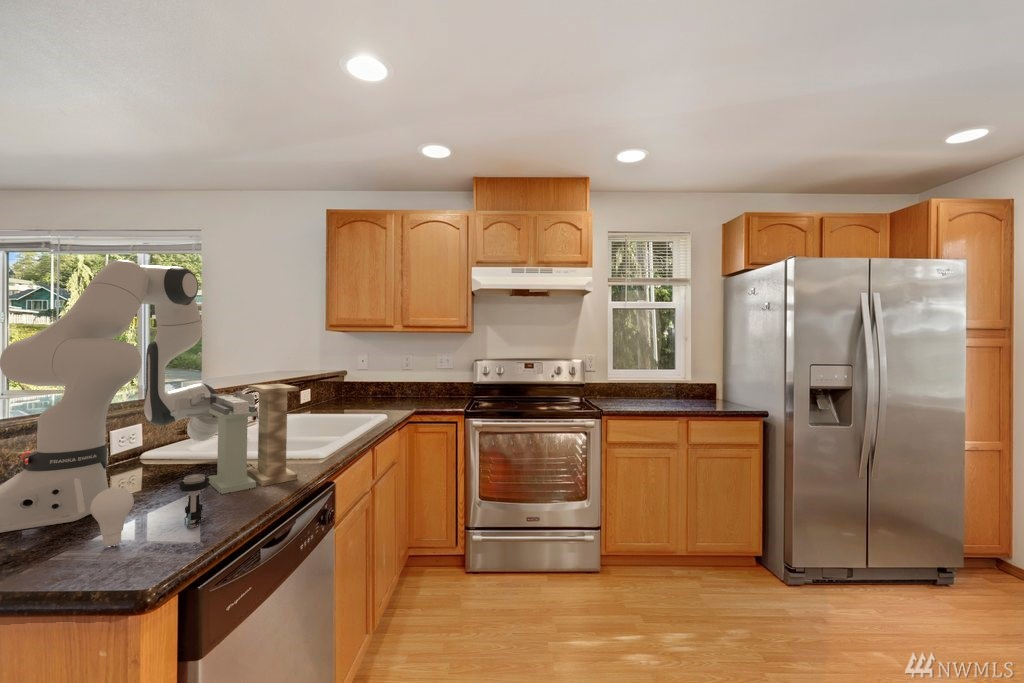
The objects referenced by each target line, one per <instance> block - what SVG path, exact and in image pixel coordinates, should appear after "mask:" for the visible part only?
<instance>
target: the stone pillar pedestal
mask: <svg viewBox="0 0 1024 683" xmlns="http://www.w3.org/2000/svg"><path fill="white" fill-rule="evenodd" d="M299 388H300V387H299V386H294V385H289V384H284V383H271V384H268V383H267V384H249V385H248V388H247V389H249V390H252V391H256V392H258V429H257V430H258V435H257V436H258V438H257V440H258V441H257V444H258V445H257V467H256V468H250V469H247V475H248V476H249V477H250V478H252V479H253V480H255V481H256V484H258V485H260V486H261V487H265V486H269V485H275V484H280V483H285V482H290V481H296V480H298V473H296V472H294V471H293V470H291V469H289V468H287V438H288V437H287V434H288V432H287V431H288V430H287V429H288V426H287V425H288V392H299V391H300V390H299Z"/></svg>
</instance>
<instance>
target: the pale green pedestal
mask: <svg viewBox="0 0 1024 683" xmlns="http://www.w3.org/2000/svg"><path fill="white" fill-rule="evenodd" d="M209 413H211V414H213V415H215V416H217V417H218V432H217V464H216V465H217V471H216V472H217V473H216V474H215V475H214V474H213V475H209V476H207V478H209V479H210V481H209V482H208V484H210V485H211V486H212V487H213V488H214V489H215V490H216V491H217V492H218V491H219V492H218V493H219V494H220V493H221V494H220V495H224V494H228V493H229V492H230V493H233V492H239V491H244V490H249V488H250V489H254V487H255V488H257V482H256V481H254V480H253V479H252V478H250V477H249V476H248V475H247V470H248V469H247V467H248V466H247V465H248V418H249V417H258V411H256V406H255V405H254V406H252V405H249V413H248V414H236V415H233V414H231V413H229V408H227V407H224V406H222V405H219V404H217V403H212V408H211V409H209Z"/></svg>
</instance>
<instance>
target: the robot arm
mask: <svg viewBox="0 0 1024 683" xmlns="http://www.w3.org/2000/svg"><path fill="white" fill-rule="evenodd" d="M198 292H199V281H198V279H197V277H196V275H195V274H194V273H193V272H192V271H191V269H189V268H186V267H182V266H175V265H174V266H165V265H153V264H141V265H140V264H138V263H136V262H134V261H131V260H126V259H117V260H112V261H110V262H108V264H106V265H105V266H104V267H103V268H102V269H100V270H99V271H98V272H97V273H96V275H94V276H93V278H92V279H91V280H90V282H88V284H87V286H86V287H85V289H84V290H83V291H82V293H81V294H80V295H79V297H78V299H77V300H76V301H75V303H74V304H73V305H72V307H71V308H69V310H68V311H67V312H65V314H63V315H62V316H61V317H60V318H57V320H55V321H54V322H53V323H51V324H49V325H48V326H47V327H44V329H41V330H40V331H38V332H36V333H35V334H32V335H30V336H27V337H25V338H23V339H20V340H16V341H14V342H12V343H10V344H9V345H7V346H6V347H5V349H3V351H2V353H1V355H0V370H1V372H2V374H3V375H4V377H6V378H7V379H8V380H9V381H12V382H14V383H19V384H25V385H29V386H34V387H35V386H36V387H65V389H64V391H63V392H64V393H63V395H62V397H61V399H60V400H59V401H58V402H57V403H56V404H54V405H52V406H50V407H48V408H46V409H45V410H44V411H42V412H41V413H40V414H39V416H38V418H37V429H36V430H37V431H36V432H37V434H36V437H37V438H36V450H35V451H31V450H27V451H24V452H23V453H21V455H20V460H21V461H22V471H20V472H18V473H17V474H16V475H14V476H13V477H11V478H9V479H8V480H6V481H5V482H3V483H2V484H0V533H6V532H12V531H20V530H25V529H32V528H38V527H39V528H40V527H45V526H51V525H57V524H63V523H65V524H66V523H71V522H75V521H78V520H81V519H83V518H85V517H86V516H89V515H92V514H91V510H90V506H91V503H92V501H93V499H94V498H95V497H96V496H97V495H98V494H99V493H100V492H102V491H104V490H106V489H109V488H110V487H109V484H108V479H107V478H108V477H107V467H108V464H109V447H108V444H107V443H106V428H107V426H106V425H107V416H108V411H109V408H110V405H111V404H112V401H113V399H114V397H115V396H116V394H117V393H118V392H119V391H120V390H121V389H122V387H124V386H125V385H127V384H128V383H129V382H132V380H134V378H136V377H137V376H138V375H139V372H140V371H141V368H142V361H143V359H142V356H141V352H140V351H139V349H138V348H137V347H136V346H135V345H134V344H133V343H130V342H127V341H122V340H117V339H116V338H117V337H119V336H121V335H122V334H124V333H125V332H126V331H127V330H129V327H130V325H131V324H132V323H133V320H134V318H135V317H136V314H137V313H138V312H139V310H140V307H141V305H152V306H153V305H154V314H155V322H156V327H157V329H156V335H155V337H154V339H153V341H151V342H150V343H149V344H148V345H147V347H146V356H145V396H144V404H143V405H144V406H143V413H144V416H145V418H146V420H147V421H148V422H149V423H150V424H153V425H157V426H161V427H164V426H165V427H166V426H168V425H170V424H173V423H175V422H177V421H180V420H183V419H189V421H188V424H187V426H186V427H187V428H186V433H187V436H188V437H189V438H190V439H191V440H194V441H195V442H204V441H208V440H210V439H212V438H213V437H214V436H216V435H217V434H218V417H217V416H215V415H213V414H211V413H209V409H211V408H212V405H210V394H218V393H217V392H216V390H215V388H213V387H212V386H210V385H208V384H206V383H204V382H198V383H194V384H189V385H185V386H184V387H180V388H179V387H178V388H175V389H172V390H167V391H166V368H167V365H169V363H170V362H171V361H172V360H173V359H175V358H176V357H178V356H179V355H181V354H183V353H185V352H187V351H189V350H190V349H192V348H193V347H195V346H196V345H197V343H198V342H199V341H200V340H201V338H202V335H203V324H202V319H201V314H200V311H199V310H200V309H199V306H198V303H197V301H196V299H195V298H196V297H197V295H198ZM229 395H230V396H233V397H236V398H239V399H242V400H245V401H248V402H249V405H252V406H255V403H256V401H255V400H256V399H255V396H254V394H252V393H243V391H242V390H235V393H234V394H229Z"/></svg>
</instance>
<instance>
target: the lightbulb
mask: <svg viewBox="0 0 1024 683" xmlns="http://www.w3.org/2000/svg"><path fill="white" fill-rule="evenodd" d="M108 488H109V489H106V490H104V491H102V492H100V493H99V494H98V495H97V496H96V497H95V498H94V499H93V501H92V503H91V506H90V510H91V514H90V515H92V517H93V519H95V520H96V522H97V524H98V526H99V528H100V535H101V536H102V537H101V538H102V545H103V546H104V547H108V546H114V545H115V546H116V545H118V544H120V542H121V540H122V533H123V531H124V524H125V521H126V519H127V517H128V515H129V513H131V510H132V508H133V506H134V503H135V498H134V494H133V493H132V492H131V491H130V490H128V489H127V488H124V487H120V486H117V487H115V486H114V487H108ZM115 546H114V547H115Z"/></svg>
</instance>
